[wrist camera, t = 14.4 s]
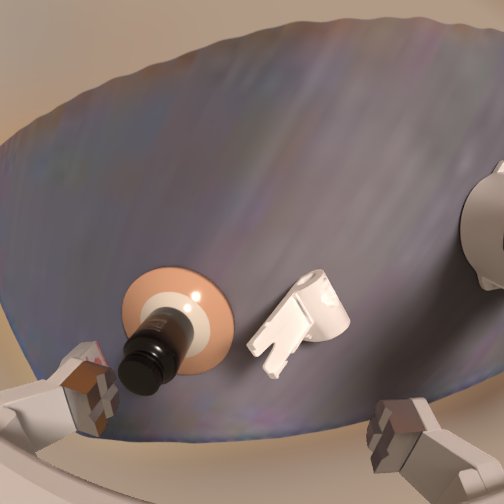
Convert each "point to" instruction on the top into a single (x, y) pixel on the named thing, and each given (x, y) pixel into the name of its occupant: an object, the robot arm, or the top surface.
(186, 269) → the peach rimmed plate
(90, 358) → the tea bag
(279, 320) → the plastic part
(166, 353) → the supplement bottle
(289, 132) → the top surface
